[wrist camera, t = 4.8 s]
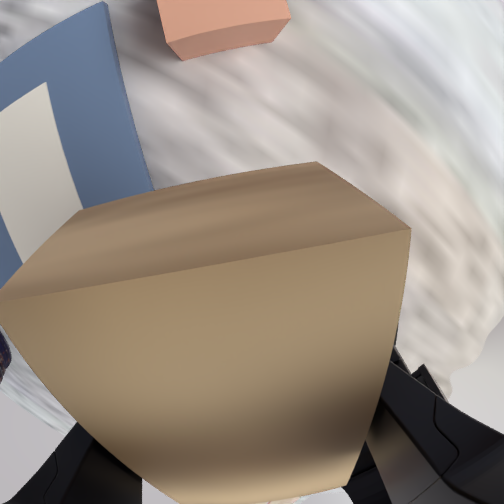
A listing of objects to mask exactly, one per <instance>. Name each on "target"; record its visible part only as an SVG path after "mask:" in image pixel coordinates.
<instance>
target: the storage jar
mask: <svg viewBox="0 0 504 504" xmlns="http://www.w3.org/2000/svg"><path fill="white" fill-rule="evenodd" d="M10 362H11V352H10V348H9V346H8V344H7V342H6V340H5V338H4V336H3V335H2V333H1V332H0V383H1V381H2V379H3V375H4V374H5V369H6V368H7V367H8V366H9V364H10Z"/></svg>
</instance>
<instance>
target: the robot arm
mask: <svg viewBox="0 0 504 504" xmlns="http://www.w3.org/2000/svg"><path fill="white" fill-rule="evenodd" d="M397 331H398V326H397ZM397 331H396V335H395V340H394V344H393V349H392V353H391V357H390V361H389V365H388V369H387V372H386V376H385V380H384V383H383V387H382V390H381V394H380V397H379V400H378V404H377V407H376V410H375V413H374V416H373V419H372V422H371V425H370V428H369V430H368V433H367V436H366V439H365V441H364V444H363V447H362V449H361V452H360V454H359V457H358V459H357V462H356V464H355V467H354V469H353V471H352V474H351V476H350V478H349V481H348V483H347V485H346V486H342V488H343V489H344V490H345V491H346V493H347V494H348V495H349V497H350V498H351V500H352V502H353V504H504V434H502V433H500V432H498V431H496V430H494V429H492V428H490V427H489V426H486V425H485V424H483V423H481V422H479V421H477V420H475V419H474V418H472V417H470V416H468V415H467V414H465V413H463V412H461V411H460V410H458V409H457V408H455V407H454V406H452V405H451V404H449V402H448V400H447V399H446V397H445V395H444V394H443V392H442V390H441V389H440V387H439V385H438V384H437V382H436V381H435V379H434V378H433V376H432V375H431V373H430V372H429V371H428V369H427V368H426V366H425V365H424V364H422V365H421V366H420V367H419V368H418V370H416V371H415V372H414V373H412V374H411V372H410V371H409V369H408V367H407V365H406V364H405V362H404V360H403V359H402V357H401V355H400V354H399V352H398V350H397V349H396V347H395V344H396V338H397ZM3 504H142V478H141V477H140V476H139V475H137V474H136V473H135V472H133V471H132V470H131V469H130V468H128V467H127V466H126V465H125V464H123V463H122V462H121V461H120V460H119V459H117V458H116V457H115V456H114V455H113V454H111V453H110V452H109V451H108V450H107V449H106V448H105V447H103V446H102V445H101V444H100V443H99V442H98V441H97V440H96V439H95V438H94V437H93V436H91V435H90V434H89V433H88V432H87V431H86V430H85V429H84V428H83V427H82V426H81V425H80V424H79V423H78V422H77V423H76V424H75V425H74V426H73V428H72V429H71V430H70V431H69V433H68V434H67V435H66V436H65V438H64V439H63V440H62V442H61V443H60V444H59V445H58V447H57V448H56V449H55V451H54V452H53V453H52V454H51V455H50V457H49V458H48V459H47V460H46V462H45V463H44V464H43V465H42V467H41V468H40V469H39V470H38V471H37V472H36V474H34V476H33V477H32V478H31V479H30V480H29V481H28V482H27V483H26V484H25V485H24V486H23V487H22V488H21V489H20V490H19V491H18V492H17V494H16V495H15V496H14V497H13V498H12V499H10V500H9V501H7V502H5V503H3Z"/></svg>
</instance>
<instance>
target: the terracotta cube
mask: <svg viewBox="0 0 504 504" xmlns="http://www.w3.org/2000/svg"><path fill="white" fill-rule="evenodd" d="M157 4H158V8H159V13H160V17H161V21H162V26H163V30H164V34H165V39H166V43H167V44H168V45H169V46H170V47H171V49H172V50H173V51H174V52H175V53H176V54H177V55H178V56H179V58H180V59H181V60H182V61H185V60H188V59H192V58H196V57H199V56H203V55H207V54H212V53H216V52H220V51H225V50H230V49H235V48H240V47H245V46H251V45H257V44H263V43H270V42H273V41H274V39H275V38H276V37H277V35H278V34H279V33H280V32H281V30H282V29H283V28H284V27H285V25H286V24H287V23H288V22H289V20H290V19H291V16H290V12H289V8H288V5H287V1H286V0H157Z"/></svg>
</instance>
